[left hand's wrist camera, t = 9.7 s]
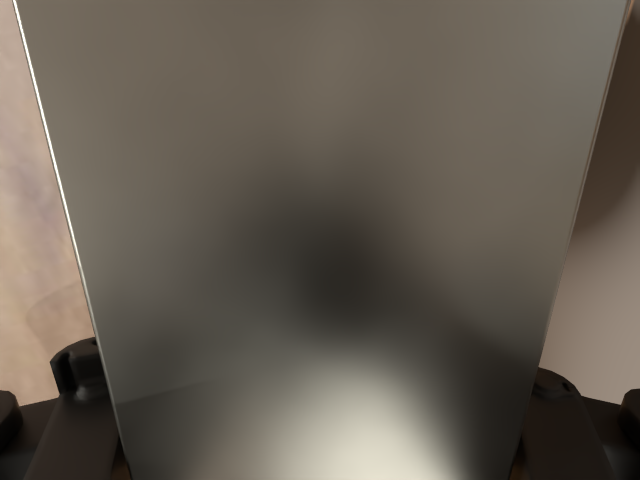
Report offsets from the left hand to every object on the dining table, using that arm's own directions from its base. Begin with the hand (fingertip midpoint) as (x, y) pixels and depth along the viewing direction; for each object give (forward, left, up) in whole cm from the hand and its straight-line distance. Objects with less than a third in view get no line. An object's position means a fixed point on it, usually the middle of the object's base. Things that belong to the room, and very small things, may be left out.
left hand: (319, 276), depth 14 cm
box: (+9, +2, -1) cm, 9 cm away
